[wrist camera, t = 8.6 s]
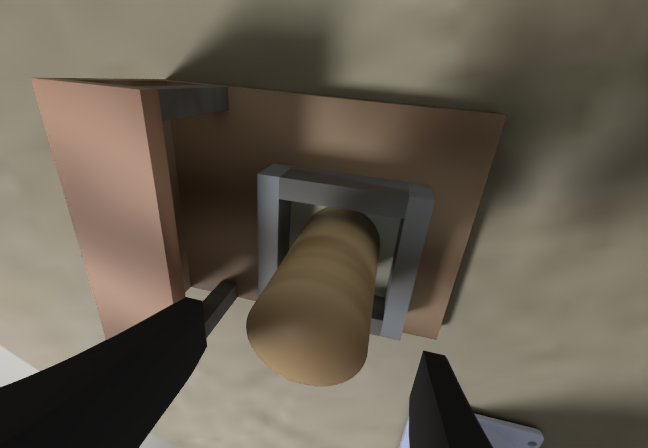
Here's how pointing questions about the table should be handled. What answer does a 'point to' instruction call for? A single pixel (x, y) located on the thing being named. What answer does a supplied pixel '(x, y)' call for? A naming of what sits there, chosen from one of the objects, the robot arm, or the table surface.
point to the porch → (259, 190)
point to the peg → (319, 301)
